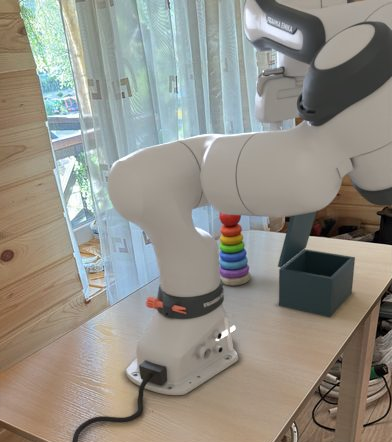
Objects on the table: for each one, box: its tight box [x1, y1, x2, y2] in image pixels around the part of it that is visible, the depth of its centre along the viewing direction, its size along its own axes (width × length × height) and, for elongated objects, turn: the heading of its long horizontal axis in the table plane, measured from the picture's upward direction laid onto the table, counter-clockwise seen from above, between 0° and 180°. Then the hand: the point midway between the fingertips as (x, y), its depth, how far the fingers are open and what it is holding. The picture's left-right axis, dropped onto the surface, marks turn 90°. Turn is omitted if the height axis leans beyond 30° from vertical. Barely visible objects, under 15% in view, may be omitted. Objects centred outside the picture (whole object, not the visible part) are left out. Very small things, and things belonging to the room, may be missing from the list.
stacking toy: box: [218, 212, 251, 286], centre depth 123 cm, size 8×8×19 cm
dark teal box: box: [278, 248, 356, 318], centre depth 114 cm, size 12×13×9 cm
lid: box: [277, 211, 317, 269], centre depth 111 cm, size 13×13×5 cm
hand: (298, 140), depth 106 cm, fingers open, 8 cm apart
